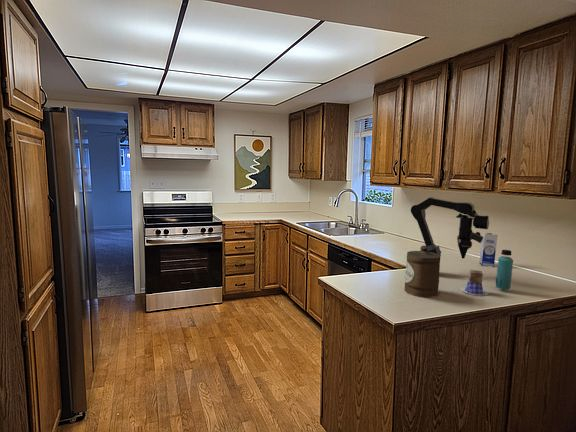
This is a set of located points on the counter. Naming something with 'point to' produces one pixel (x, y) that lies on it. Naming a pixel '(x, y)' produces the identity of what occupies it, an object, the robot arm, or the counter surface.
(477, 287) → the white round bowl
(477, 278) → the walnut block
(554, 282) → the counter surface
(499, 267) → the beverage bottle
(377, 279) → the counter surface
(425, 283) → the wooden container
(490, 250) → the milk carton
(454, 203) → the robot arm
